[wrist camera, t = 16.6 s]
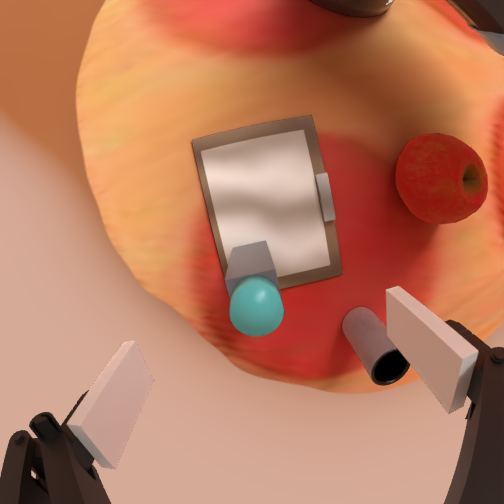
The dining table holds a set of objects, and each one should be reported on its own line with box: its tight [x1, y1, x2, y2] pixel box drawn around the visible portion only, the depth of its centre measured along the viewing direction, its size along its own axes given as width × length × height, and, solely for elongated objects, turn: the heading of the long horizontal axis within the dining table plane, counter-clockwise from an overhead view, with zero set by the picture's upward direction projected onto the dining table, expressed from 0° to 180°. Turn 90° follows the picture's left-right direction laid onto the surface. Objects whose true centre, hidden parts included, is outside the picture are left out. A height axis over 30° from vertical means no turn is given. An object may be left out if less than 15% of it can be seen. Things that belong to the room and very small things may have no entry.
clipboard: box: [192, 115, 343, 289], centre depth 30 cm, size 18×13×1 cm
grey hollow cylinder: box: [342, 307, 410, 386], centre depth 28 cm, size 4×4×10 cm
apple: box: [395, 133, 488, 225], centre depth 25 cm, size 10×10×10 cm
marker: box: [225, 240, 285, 337], centre depth 24 cm, size 4×4×14 cm
